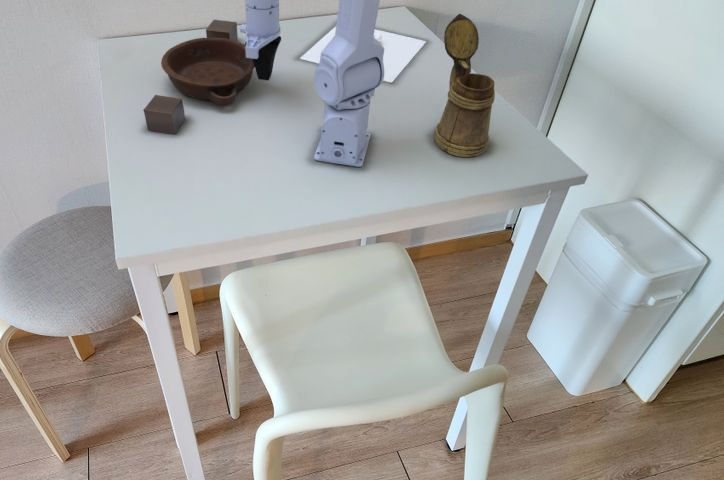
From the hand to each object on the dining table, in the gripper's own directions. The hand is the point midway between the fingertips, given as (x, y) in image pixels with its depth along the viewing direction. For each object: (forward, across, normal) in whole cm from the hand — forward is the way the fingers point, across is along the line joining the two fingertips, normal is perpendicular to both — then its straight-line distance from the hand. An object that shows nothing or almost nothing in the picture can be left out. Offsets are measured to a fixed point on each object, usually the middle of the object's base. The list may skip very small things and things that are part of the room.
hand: (264, 78), depth 109 cm
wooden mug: (+3, +6, +36) cm, 36 cm away
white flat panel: (+3, -21, +16) cm, 26 cm away
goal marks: (+2, 0, -13) cm, 14 cm away
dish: (+3, 0, -10) cm, 11 cm away
